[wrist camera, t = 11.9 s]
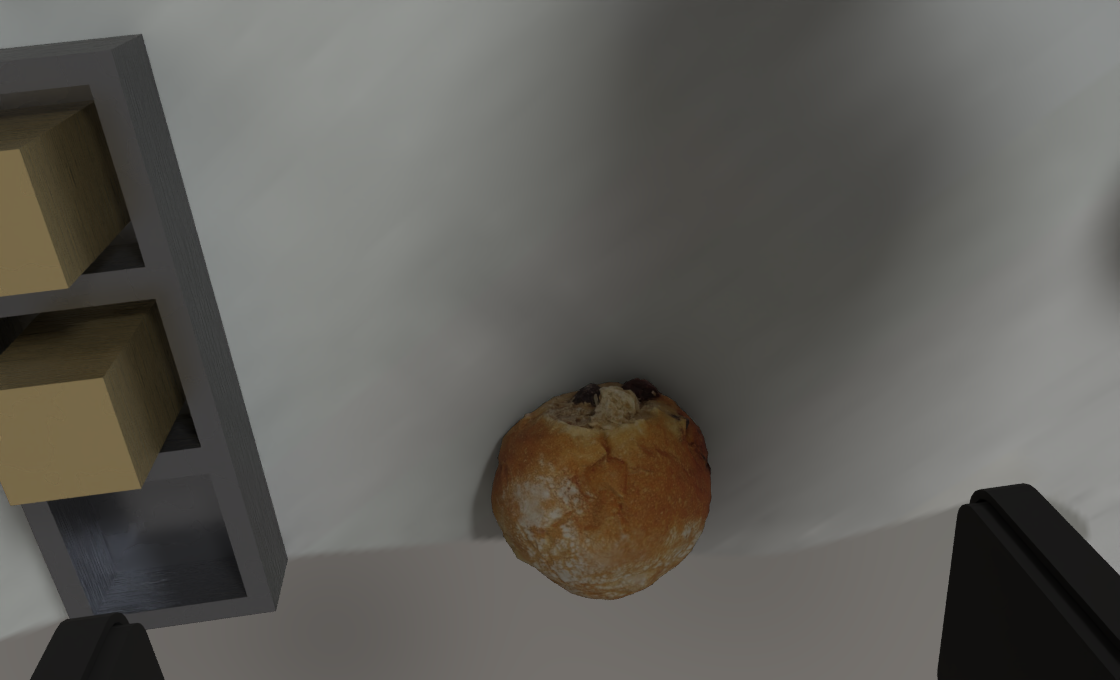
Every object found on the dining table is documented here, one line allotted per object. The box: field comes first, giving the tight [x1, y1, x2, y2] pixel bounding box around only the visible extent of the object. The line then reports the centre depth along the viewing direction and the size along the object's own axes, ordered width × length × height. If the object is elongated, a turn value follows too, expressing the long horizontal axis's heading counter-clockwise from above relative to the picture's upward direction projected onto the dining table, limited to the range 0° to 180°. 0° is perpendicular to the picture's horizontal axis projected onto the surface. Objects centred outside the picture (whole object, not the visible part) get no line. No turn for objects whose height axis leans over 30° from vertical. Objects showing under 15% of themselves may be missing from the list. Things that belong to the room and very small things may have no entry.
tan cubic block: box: [0, 299, 186, 506], centre depth 35 cm, size 4×4×7 cm
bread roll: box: [491, 378, 711, 600], centre depth 42 cm, size 10×10×8 cm
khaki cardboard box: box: [0, 100, 131, 297], centre depth 32 cm, size 4×4×7 cm
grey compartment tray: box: [0, 34, 288, 630], centre depth 37 cm, size 24×8×4 cm, turn 5°
